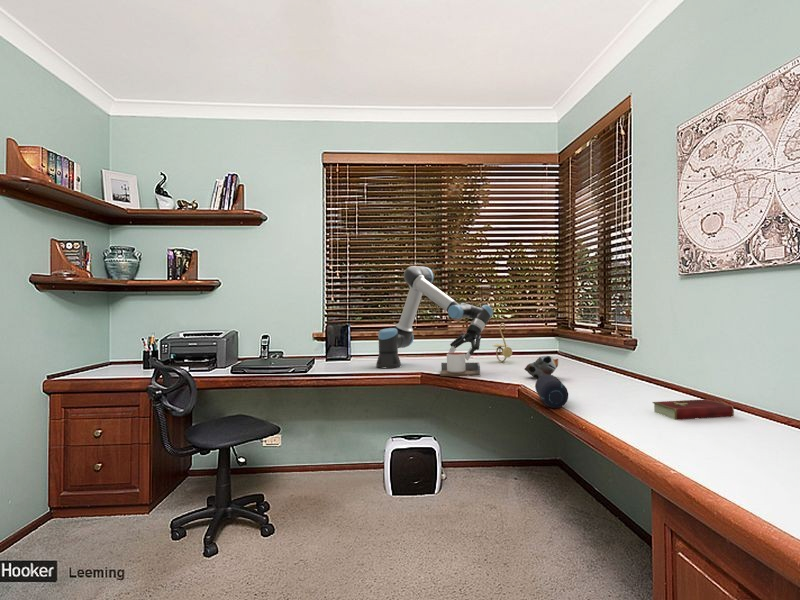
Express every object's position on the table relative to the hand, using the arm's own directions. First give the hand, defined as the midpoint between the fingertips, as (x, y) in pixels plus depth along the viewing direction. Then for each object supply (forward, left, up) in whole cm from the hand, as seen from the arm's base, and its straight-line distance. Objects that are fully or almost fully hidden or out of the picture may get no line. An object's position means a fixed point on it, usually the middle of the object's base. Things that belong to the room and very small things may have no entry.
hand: (457, 357), depth 274 cm
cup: (0, -1, -8) cm, 8 cm away
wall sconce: (-51, +27, -9) cm, 59 cm away
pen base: (-2, +1, -9) cm, 9 cm away
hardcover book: (+92, +81, -10) cm, 123 cm away
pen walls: (-2, +1, -8) cm, 8 cm away
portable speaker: (+75, +37, -9) cm, 84 cm away
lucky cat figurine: (+11, +43, -9) cm, 45 cm away
